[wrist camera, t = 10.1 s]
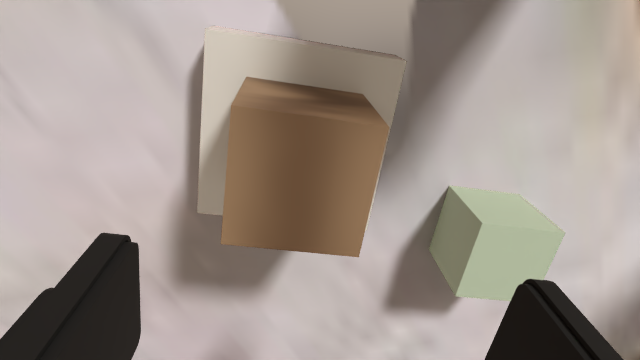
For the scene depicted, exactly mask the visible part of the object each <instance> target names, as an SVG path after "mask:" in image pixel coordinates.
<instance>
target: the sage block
mask: <svg viewBox="0 0 640 360" xmlns="http://www.w3.org/2000/svg"><path fill="white" fill-rule="evenodd" d="M564 235H565V232H564V231H563V230H562V229H560V228H559V227H558V226H557V225H556V224H554V223H553V222H552V221H551V220H550V219H548V218H547V217H546V216H545V215H544V214H542V213H541V212H540V211H539V210H538V209H536V208H535V207H534V206H533V205H532V204H530V203H529V202H528V201H527V200H526V199H524V198H523V197H522V196H521V195H520V194H513V193H505V192H497V191H489V190H481V189H473V188H465V187H457V186H449V188H448V191H447V194H446V197H445V200H444V203H443V207H442V210H441V213H440V216H439V219H438V222H437V225H436V228H435V231H434V235H433V238H432V241H431V244H430V247H429V251H430V253H431V254H432V256H433V258H434V260H435V261H436V263H437V265H438V267H439V269H440V270H441V272H442V274H443V276H444V277H445V279H446V281H447V283H448V284H449V286H450V288H451V290H452V291H453V293H454V295H455V296H457V297H469V298H480V299H492V300H503V301H511V299H512V297H513V295H514V292H515V290H516V288H517V286H518V285H520V284H523V282H524V281H525V280H527V279H537V280H544V277H545V275H546V273H547V271H548V269H549V267H550V265H551V262H552V260H553V258H554V256H555V254H556V252H557V250H558V248H559V245H560V243H561V241H562V239H563V237H564Z"/></svg>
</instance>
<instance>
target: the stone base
mask: <svg viewBox="0 0 640 360" xmlns="http://www.w3.org/2000/svg"><path fill="white" fill-rule="evenodd" d="M406 63H407V61H406V60H404V59H402V58H400V57H398V56H396V55H392V54H386V53H380V52H373V51H367V50H361V49H355V48H348V47H343V46H337V45H330V44H323V43H318V42H312V41H306V40H300V39H294V38H287V37H281V36H275V35H269V34H263V33H257V32H250V31H244V30H238V29H232V28H226V27H219V26H211V27H208V28H205V41H204V64H203V87H202V110H201V133H200V155H199V178H198V201H197V213H201V214H211V215H221V216H223V206H224V193H225V179H226V166H227V153H228V139H229V126H230V112H231V104H232V102H233V101H234V99H235V97H236V95H237V93H238V91H239V89H240V88H241V86H242V84H243V82H244V80H245V78H246V77H253V78H259V79H266V80H273V81H279V82H286V83H293V84H300V85H306V86H313V87H320V88H326V89H333V90H340V91H347V92H353V93H360V94H363V95H364V96H365V97H366V98H367V100H368V101H369V102H370V103H371V105H372V106H373V107H374V108H375V110H376V111H377V112H378V113H379V115H380V116H381V117H382V118H383V120H384V121H385V122H386V123H387V125H388V126H389V131H388V136H387V140H386V144H385V148H384V153H383V157H382V161H381V165H380V169H379V174H378V178H377V182H376V186H375V190H374V195H373V199H372V203H371V207H370V212H369V216H368V220H367V224H366V228H365V230H367V227H368V223H369V219H370V214H371V210H372V206H373V202H374V198H375V193H376V189H377V185H378V181H379V177H380V172H381V168H382V164H383V160H384V155H385V151H386V147H387V143H388V139H389V134H390V130H391V126H392V121H393V117H394V113H395V109H396V105H397V100H398V96H399V92H400V88H401V84H402V79H403V75H404V71H405V67H406Z"/></svg>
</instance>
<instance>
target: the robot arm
mask: <svg viewBox="0 0 640 360" xmlns="http://www.w3.org/2000/svg"><path fill="white" fill-rule="evenodd" d="M140 333H141V321H140V283H139V248H138V244H137V243H134V242H131V239H130V237H129V236H128V235H119V234H110V233H101V234H100V235H99V236H98V237H97V238H96V239H95V240H94V242H93V243H92V244H91V245H90V246H89V248H88V249H87V250H86V251H85V252H84V253H83V255H82V256H81V257H80V258H79V259H78V261H77V262H76V263H75V264H74V265H73V266H72V268H71V269H70V270H69V271H68V272H67V274H66V275H65V276H64V277H63V278H62V279H61V281H60V282H59V283H58V284H57V285H56V287H55V288H49V289H46V290H44V291H43V292H42V293H41V294H40V295H39V296H38V297H37V298H36V299H35V300H34V302H33V303H32V304H31V305H30V306H29V307H28V308H27V310H26V311H25V312H24V313H23V314H22V315H21V316H20V318H19V319H18V320H17V321H16V322H15V323H14V324H13V325H12V327H11V328H10V329H9V330H8V331H7V332H6V333H5V335H4V336H3V337H2V338H1V339H0V360H131V359H132V357H133V355H134V352H135V350H136V348H137V346H138V343H139V339H140ZM485 360H623V359H622V358H621V357H620V355H619V354H618V353H617V352H616V351H615V350H614V349H613V348H612V346H611V345H610V344H609V343H608V342H607V341H606V340H605V339H604V338H603V336H602V335H601V334H600V333H599V332H598V331H597V330H596V329H595V327H594V326H593V325H592V324H591V323H590V322H589V321H588V320H587V318H586V317H585V316H584V315H583V314H582V313H581V312H580V311H579V310H578V308H577V307H576V306H575V305H574V304H573V303H572V302H571V301H570V299H569V298H568V297H567V296H566V295H565V294H564V293H563V292H562V290H561V289H560V288H559V287H558V286H557V285H556V284H555V283H554V282H552V281H547V280H537V279H527V280H525V281H524V282H523V284H520V285H518V286H517V288H516V290H515V292H514V295H513V297H512V299H511V301H510V304H509V306H508V308H507V310H506V313H505V315H504V317H503V319H502V322H501V324H500V326H499V328H498V331H497V333H496V335H495V337H494V340H493V342H492V344H491V346H490V349H489V351H488V353H487V355H486V358H485Z"/></svg>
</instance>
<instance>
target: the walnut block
mask: <svg viewBox="0 0 640 360" xmlns="http://www.w3.org/2000/svg"><path fill="white" fill-rule="evenodd" d="M388 131H389V126H388V125H387V123H386V122H385V121H384V120H383V118H382V117H381V116H380V115H379V113H378V112H377V111H376V110H375V108H374V107H373V106H372V105H371V103H370V102H369V101H368V100H367V98H366V97H365V96H364V95H363V94H360V93H353V92H347V91H340V90H333V89H326V88H320V87H313V86H306V85H300V84H293V83H286V82H279V81H273V80H266V79H259V78H253V77H246V78H245V80H244V82H243V84H242V86H241V88H240V89H239V91H238V93H237V95H236V97H235V99H234V101H233V102H232V104H231V112H230V126H229V139H228V153H227V166H226V179H225V193H224V206H223V219H222V233H221V244H225V245H236V246H246V247H257V248H267V249H278V250H289V251H299V252H310V253H320V254H331V255H342V256H352V257H359V254H360V249H361V245H362V241H363V237H364V233H365V228H366V224H367V220H368V216H369V212H370V207H371V203H372V199H373V195H374V190H375V186H376V182H377V178H378V174H379V169H380V165H381V161H382V157H383V153H384V148H385V144H386V140H387V136H388Z"/></svg>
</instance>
